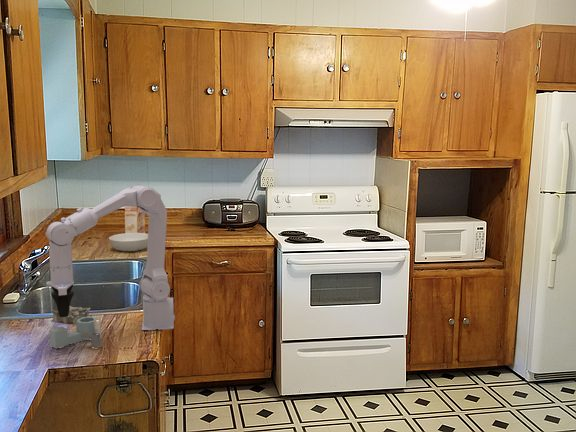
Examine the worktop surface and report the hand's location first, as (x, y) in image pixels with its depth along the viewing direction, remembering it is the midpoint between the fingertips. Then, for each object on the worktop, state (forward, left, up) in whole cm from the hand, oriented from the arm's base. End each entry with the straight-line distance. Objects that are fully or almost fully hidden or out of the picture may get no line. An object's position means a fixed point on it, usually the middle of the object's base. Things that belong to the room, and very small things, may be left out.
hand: (63, 313), depth 151 cm
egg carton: (+2, -22, -10) cm, 24 cm away
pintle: (-9, -2, -9) cm, 13 cm away
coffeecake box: (-13, -150, -10) cm, 150 cm away
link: (-2, -2, -9) cm, 10 cm away
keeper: (-7, +3, -9) cm, 12 cm away
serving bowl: (-12, -123, -10) cm, 123 cm away
